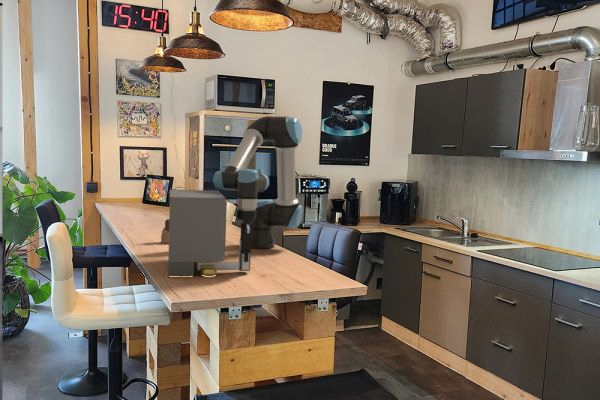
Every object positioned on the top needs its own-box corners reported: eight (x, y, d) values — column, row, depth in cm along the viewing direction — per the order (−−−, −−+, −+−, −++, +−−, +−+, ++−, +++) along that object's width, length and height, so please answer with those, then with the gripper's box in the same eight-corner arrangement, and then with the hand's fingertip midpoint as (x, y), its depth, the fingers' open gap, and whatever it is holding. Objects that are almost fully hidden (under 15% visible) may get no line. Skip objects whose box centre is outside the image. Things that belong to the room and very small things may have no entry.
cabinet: (219, 259, 213) (222, 190, 210) (227, 276, 187) (229, 198, 183) (168, 260, 208) (169, 189, 205) (168, 277, 181) (170, 197, 178)
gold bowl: (215, 273, 191) (216, 265, 190) (217, 277, 185) (217, 269, 184) (200, 273, 189) (200, 266, 189) (201, 277, 183) (201, 270, 183)
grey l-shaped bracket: (248, 268, 196) (249, 238, 195) (249, 270, 192) (251, 240, 191) (197, 268, 191) (198, 238, 190) (197, 271, 188) (198, 240, 186)
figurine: (177, 241, 246) (177, 218, 245) (174, 244, 239) (174, 220, 238) (163, 241, 246) (163, 217, 245) (159, 244, 239) (159, 219, 237)
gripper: (234, 206, 198) (232, 262, 201) (240, 212, 182) (237, 273, 184) (252, 206, 200) (250, 262, 203) (260, 212, 184) (257, 273, 186)
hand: (244, 267), depth 193 cm, fingers closed on grey l-shaped bracket, 4 cm apart
